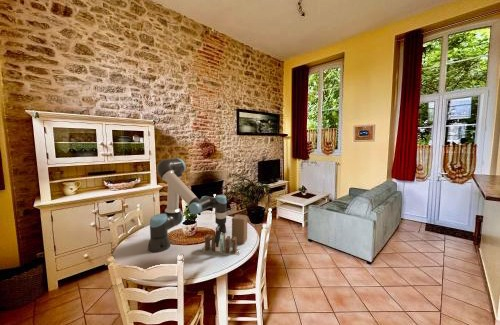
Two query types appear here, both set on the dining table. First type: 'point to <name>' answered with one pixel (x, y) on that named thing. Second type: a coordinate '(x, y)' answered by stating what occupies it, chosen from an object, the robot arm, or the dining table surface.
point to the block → (239, 228)
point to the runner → (220, 252)
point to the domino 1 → (207, 242)
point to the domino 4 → (234, 245)
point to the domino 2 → (213, 244)
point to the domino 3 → (227, 244)
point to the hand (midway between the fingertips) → (220, 246)
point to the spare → (221, 243)
